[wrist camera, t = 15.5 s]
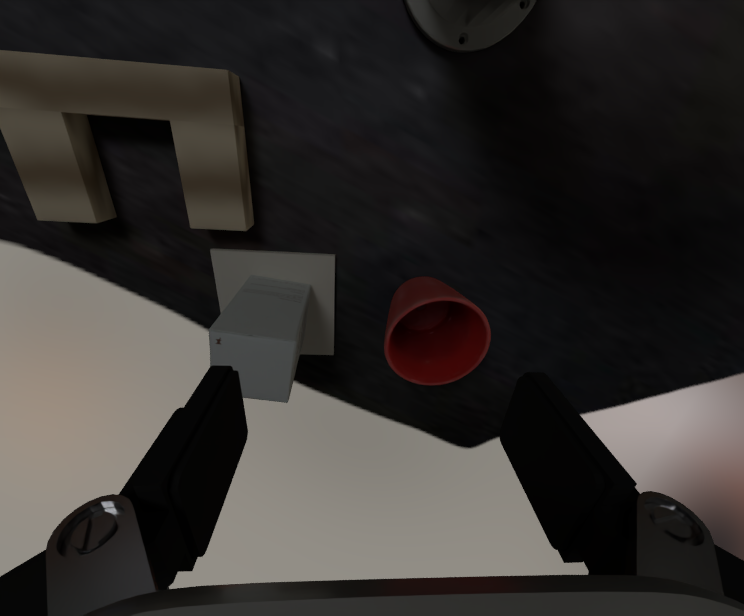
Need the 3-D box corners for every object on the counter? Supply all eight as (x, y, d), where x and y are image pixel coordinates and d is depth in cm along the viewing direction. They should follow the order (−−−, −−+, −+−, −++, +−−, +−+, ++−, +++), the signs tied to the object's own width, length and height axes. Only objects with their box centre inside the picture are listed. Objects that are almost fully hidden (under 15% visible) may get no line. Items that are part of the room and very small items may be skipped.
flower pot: (370, 274, 39) (374, 311, 30) (459, 255, 38) (490, 288, 30) (385, 344, 44) (393, 394, 35) (465, 329, 43) (492, 375, 35)
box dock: (4, 56, 28) (-33, 47, 25) (239, 76, 29) (227, 70, 27) (62, 214, 34) (37, 220, 31) (254, 224, 35) (246, 231, 33)
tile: (212, 248, 36) (210, 250, 36) (335, 254, 37) (334, 256, 37) (229, 349, 43) (227, 352, 42) (333, 352, 44) (333, 355, 43)
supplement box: (247, 326, 41) (207, 395, 29) (250, 272, 37) (206, 327, 26) (306, 335, 42) (288, 405, 30) (313, 283, 38) (296, 341, 27)
